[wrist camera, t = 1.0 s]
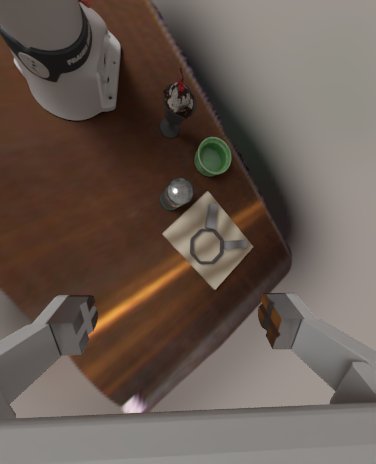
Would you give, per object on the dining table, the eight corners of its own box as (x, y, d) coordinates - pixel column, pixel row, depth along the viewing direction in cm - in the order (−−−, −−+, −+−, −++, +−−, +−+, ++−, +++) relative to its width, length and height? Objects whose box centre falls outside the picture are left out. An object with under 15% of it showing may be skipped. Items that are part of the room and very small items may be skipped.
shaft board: (161, 233, 45) (164, 234, 41) (205, 192, 48) (211, 189, 45) (212, 288, 49) (218, 292, 45) (249, 246, 52) (258, 247, 49)
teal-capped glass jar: (162, 186, 45) (171, 174, 35) (182, 193, 46) (196, 183, 37) (156, 206, 44) (164, 199, 35) (177, 212, 46) (189, 208, 36)
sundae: (161, 109, 45) (177, 51, 30) (186, 124, 47) (211, 76, 32) (151, 132, 44) (161, 84, 30) (176, 146, 46) (197, 108, 31)
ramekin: (190, 175, 47) (196, 170, 43) (193, 141, 47) (199, 132, 43) (221, 181, 50) (230, 177, 46) (224, 149, 50) (233, 141, 46)
